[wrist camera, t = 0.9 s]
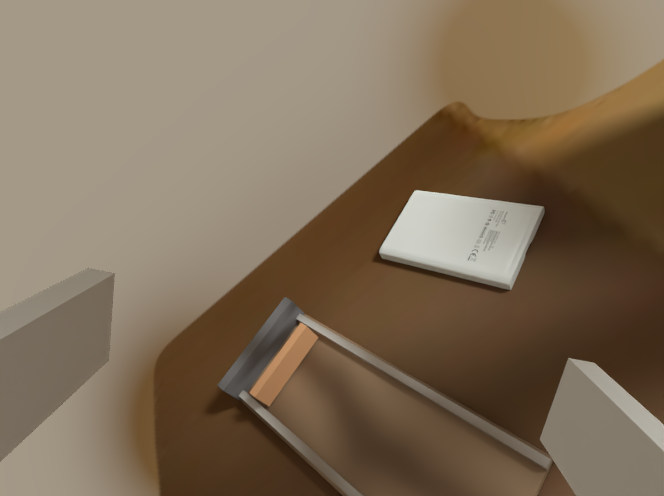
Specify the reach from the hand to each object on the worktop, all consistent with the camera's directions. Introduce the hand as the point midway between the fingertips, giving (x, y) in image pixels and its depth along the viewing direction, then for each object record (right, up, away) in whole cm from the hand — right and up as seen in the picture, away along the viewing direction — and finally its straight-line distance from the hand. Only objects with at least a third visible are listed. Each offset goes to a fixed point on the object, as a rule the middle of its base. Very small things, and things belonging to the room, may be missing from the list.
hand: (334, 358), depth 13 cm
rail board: (+2, -10, +21) cm, 23 cm away
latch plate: (-4, -7, +26) cm, 27 cm away
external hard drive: (+12, +4, +28) cm, 30 cm away
